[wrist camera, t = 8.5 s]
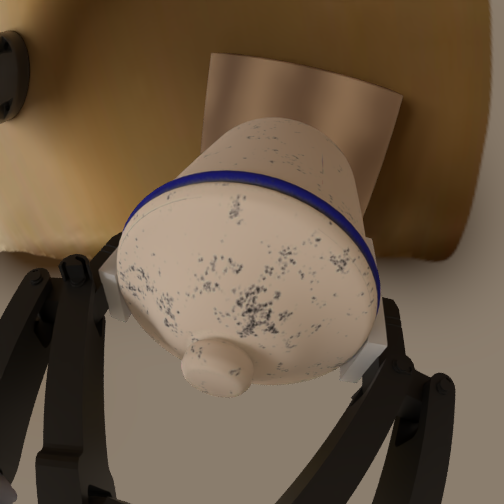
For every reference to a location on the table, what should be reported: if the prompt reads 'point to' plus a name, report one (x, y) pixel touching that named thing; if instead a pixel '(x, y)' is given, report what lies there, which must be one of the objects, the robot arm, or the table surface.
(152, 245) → the teacup with lid
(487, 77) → the table surface
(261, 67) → the wooden square block
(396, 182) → the table surface
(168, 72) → the table surface
